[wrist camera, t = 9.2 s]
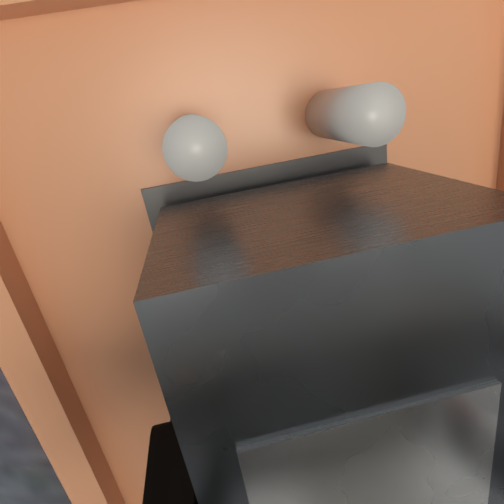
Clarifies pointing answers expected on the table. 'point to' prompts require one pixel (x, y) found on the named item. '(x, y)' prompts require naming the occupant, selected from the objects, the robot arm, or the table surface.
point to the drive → (333, 339)
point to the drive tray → (195, 167)
